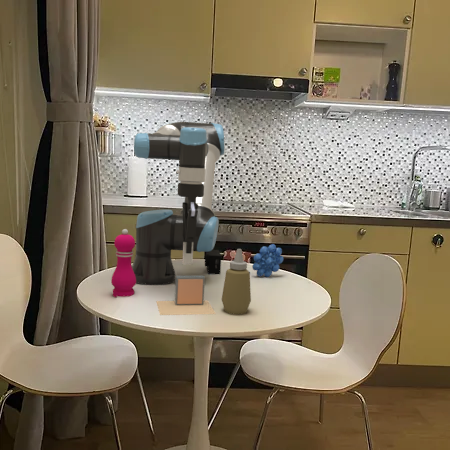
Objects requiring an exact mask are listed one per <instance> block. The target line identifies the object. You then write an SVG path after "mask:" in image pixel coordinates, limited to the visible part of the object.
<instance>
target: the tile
mask: <svg viewBox="0 0 450 450" xmlns="http://www.w3.org/2000/svg"><path fill="white" fill-rule="evenodd" d="M205 281H206V278H205V276H204V275H175V281H174V282H175V283H174V285H175V286H174V301H175V302H174V303H175V305H203V303H204V301H205V300H204V298H205Z"/></svg>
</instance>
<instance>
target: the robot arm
mask: <svg viewBox="0 0 450 450" xmlns="http://www.w3.org/2000/svg"><path fill="white" fill-rule="evenodd" d="M224 131H225V130H224V127H223V125H222V124H220V123H214V122H209V123H208V122H207V123H206V122H194V121H193V122H192V121H176V122H172V123H168V124H164V125H162V126H161V127H159V128H158V129H157V131H155V132H153V133H147V132H143V133H142V132H139V133H137V134H135V136H134V140H133V153H134V156H135V157H136V158H138V159H139V158H140V159H145V160H147V159H151V160H152V159H153V160H171V161H178V169H177V170H176V174H178V177H177V178H178V179H177V181H179V182H178V183H177V196H178V197H183V198H184V202H182V206H181V207H182V209H181V210H180V214H174V212H173V210H171V209H154V210H153V209H152V210H148V211H142V212H141V213H139V214H138V215H137V217H136V226H135V229H136V230H135V231H136V232H135V233H136V234H135V255H134V256H135V257H134V259H133V262H132V264H131V265H132V269H133V271H134V274H135V277H136V284H140V285H146V286H147V285H148V286H160V285H161V286H162V285H167V284H168V285H169V284H171V283H174V282H175V279H176V270H175V267H174V265H173V260H172V251H182V265H193V261H194V260H193V257H194V252H197V253H201V252H206V253H207V252H209V251H211V250H214V248H215V244H216V241H217V238H218V237H217V236H218V230H219V223H220V222H219V217H217V216H216V214H215V212H214V211H213V210H212V202H213V191H214V182H215V181H214V180H215V170H216V169H215V168H216V162H217V161H219V160H220V158H221V156H223V155H225V132H224Z"/></svg>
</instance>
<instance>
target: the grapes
mask: <svg viewBox="0 0 450 450" xmlns="http://www.w3.org/2000/svg"><path fill="white" fill-rule="evenodd" d="M282 253H283V249H282V248H281V247H276V245H275V244H274V243H272V244H270V245H269V246H264V245H263V246H262V247H260V250H259V253H256V254H254V256H253V261H254V263H253V264H252V270H253V271H256V276H258V277H262V276H264V277H265V278H266V277H267V278H270V277H271V276H272V274H273V273H277V272H278V271H279V270H280V264H282V263H283V262H284V256H283V255H282Z"/></svg>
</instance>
